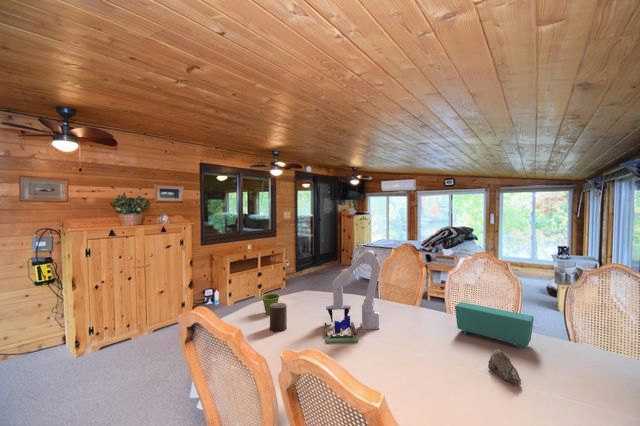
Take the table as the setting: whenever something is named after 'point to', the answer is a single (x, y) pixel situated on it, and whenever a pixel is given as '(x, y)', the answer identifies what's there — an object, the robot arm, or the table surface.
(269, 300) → the plant pot
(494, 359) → the mineral rock
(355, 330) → the guide rails
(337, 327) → the cable clip
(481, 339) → the table surface
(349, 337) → the header board
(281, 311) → the pillar candle
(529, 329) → the radio
